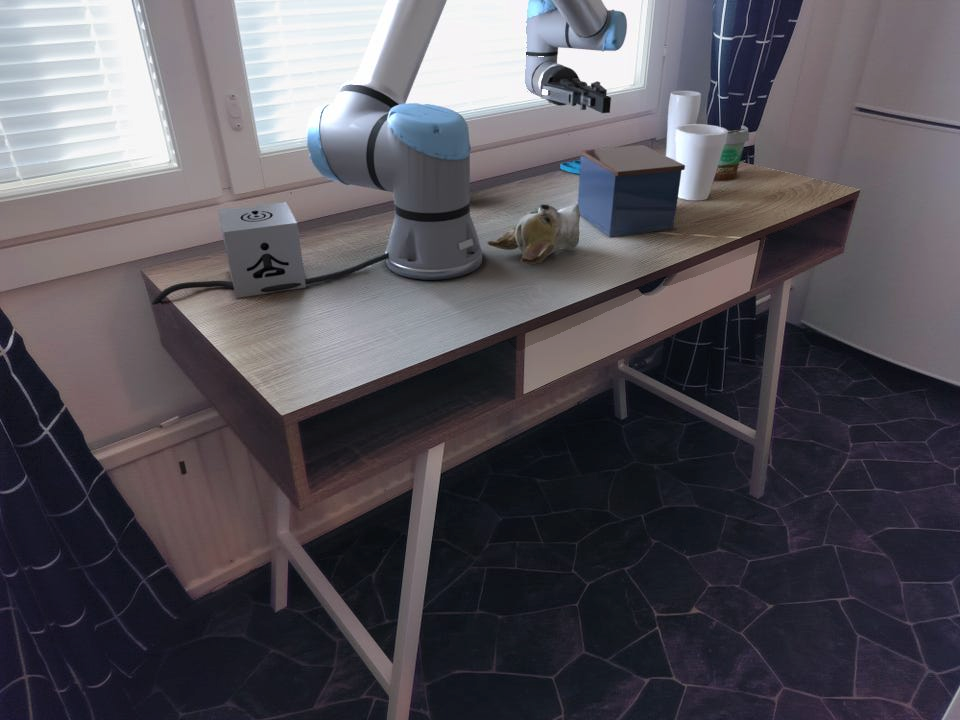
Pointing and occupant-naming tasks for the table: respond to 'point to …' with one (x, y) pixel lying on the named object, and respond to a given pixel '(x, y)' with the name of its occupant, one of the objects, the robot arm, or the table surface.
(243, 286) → the icon cube
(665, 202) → the box
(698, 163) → the foam cup
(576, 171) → the scissors
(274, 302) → the table surface
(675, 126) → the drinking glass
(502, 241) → the ceramic sculpture
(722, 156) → the food container
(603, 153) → the caddy lid
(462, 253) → the robot arm
